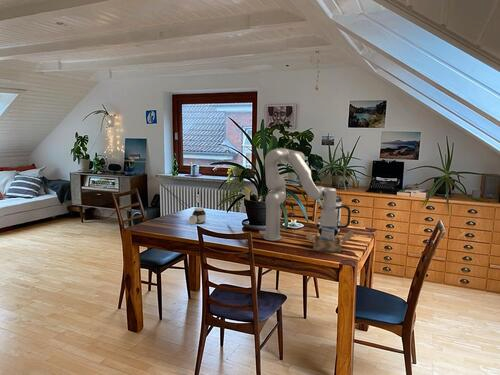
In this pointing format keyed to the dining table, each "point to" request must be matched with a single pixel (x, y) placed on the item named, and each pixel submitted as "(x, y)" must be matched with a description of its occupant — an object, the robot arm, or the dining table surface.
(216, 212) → the dining table surface
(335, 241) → the carton
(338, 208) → the coffee press
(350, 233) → the flap
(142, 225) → the dining table surface
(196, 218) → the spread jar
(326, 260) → the dining table surface
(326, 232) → the medicine box
